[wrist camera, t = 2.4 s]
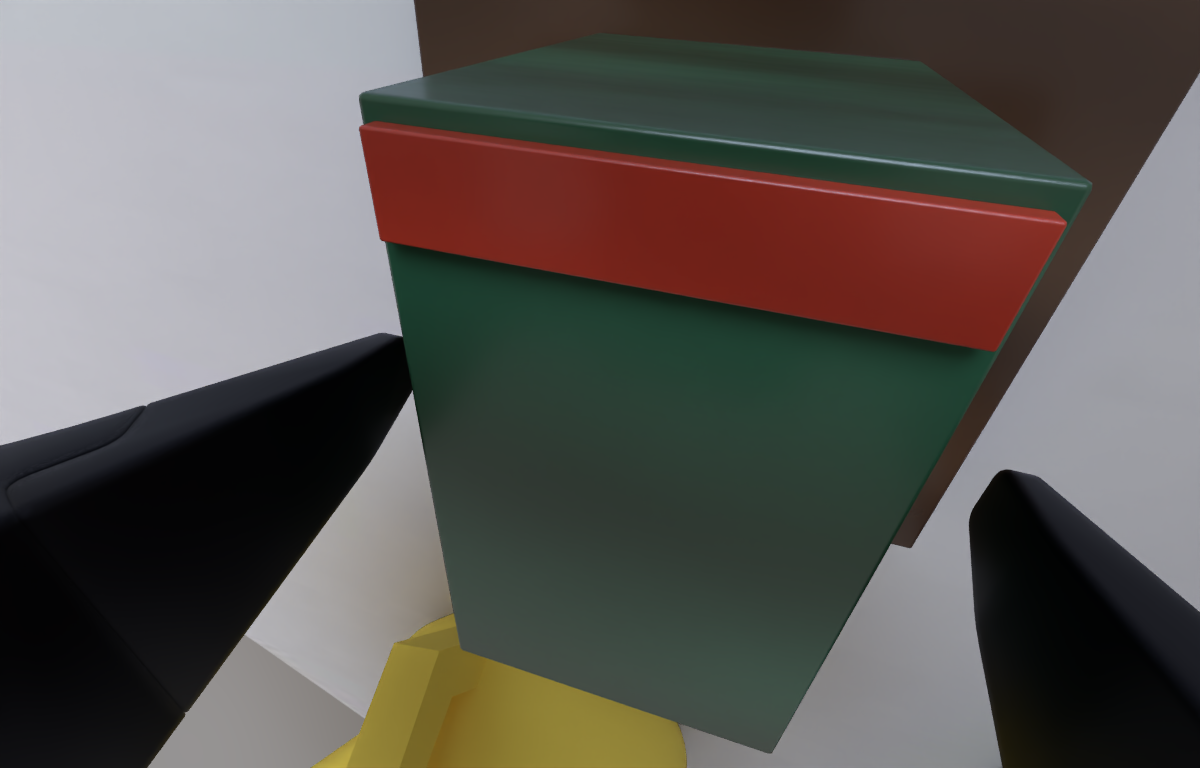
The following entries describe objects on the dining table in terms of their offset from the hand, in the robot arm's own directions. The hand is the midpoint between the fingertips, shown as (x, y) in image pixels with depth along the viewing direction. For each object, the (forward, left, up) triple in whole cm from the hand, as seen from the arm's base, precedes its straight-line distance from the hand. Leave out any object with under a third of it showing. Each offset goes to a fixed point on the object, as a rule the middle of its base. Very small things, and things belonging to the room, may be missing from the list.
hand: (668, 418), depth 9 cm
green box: (0, 0, -5) cm, 5 cm away
